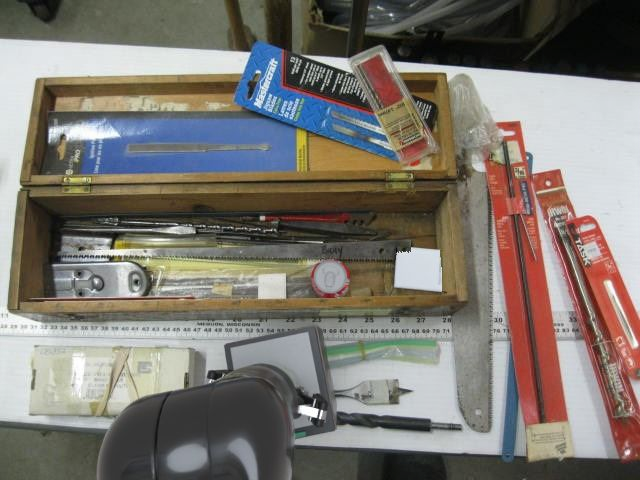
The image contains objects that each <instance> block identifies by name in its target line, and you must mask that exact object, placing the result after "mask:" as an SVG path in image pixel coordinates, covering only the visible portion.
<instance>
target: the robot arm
mask: <svg viewBox="0 0 640 480" xmlns="http://www.w3.org/2000/svg"><path fill="white" fill-rule="evenodd" d="M304 388H305V387H301V386H299V387H298V386H295V385H294V384H293V382H292V380H291V379H290V377H289V376H288V375H287V374H286V373H285V372H284V371H283V370H281V369H280V368H278V367H276V366H273V365H270V364H264V363H259V364H253V365H249V366H246V367H242V368H239V369H236V370H234V371H233V370H231V369H229V370H228V369H209V370H208V371H207V374H206V377H205V380H204V384H201V385H195V386H189V387H185V388H184V387H183V388H178V389H175V390H167V391H163V392H157V393H152V394H147V395H144V396H141V397H138V398H137V399H135V400H133V401H132V402H130V403H129V404H128V405H126V406H125V407H124V408H123V409H122V410H121V411H120V412H119V413H118V415H116V417H115V418H114V419H113V421H112V422H111V423H110V425H109V427H108V429H107V431H106V433H105V435H104V436H103V439H102V442H101V444H100V448H99V452H98V456H97V461H96V480H292V475H293V470H294V469H293V468H294V460H295V447H296V439H295V427H294V419H298V418H299V417H300V416H301V415H302V414H303V415H307V416H309V417H308V421H309V422H312V424H313V425H315V426H316V427H324V422H325V418H326V414H327V410H328V406H329V403H328V402H327V401H326V399H325V398H324V397H323V396H322V395H320V394H319V393H316V394H313V396H312V397H311V396H308V394H309V393H308V392H309V391H306V389H304Z"/></svg>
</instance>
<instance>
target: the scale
mask: <svg viewBox="0 0 640 480" xmlns="http://www.w3.org/2000/svg"><path fill="white" fill-rule="evenodd" d="M311 326H312V327H308V326H307V327H308V328H303V327H302V328H303V329H298V328H297V329H298V330H294V329H292V330H293V331H289V330H287V331H288V332H284V331H283V332H284V333H279V332H278V333H279V334H274V333H273V334H274V335H270V334H268V335H269V336H265V335H263V336H264V337H260V336H259V337H260V338H255V337H254V338H255V339H250V338H249V339H250V340H245V339H244V340H245V341H241V340H239V341H240V342H236V341H235V342H236V343H231V342H230V343H231V344H226V343H225V344H223V349H224V355H225V361H226V368H227V369H226V370H229V369H231V370H233V371H234V370H236V369H239V368H242V367H246V366H249V365H253V364H259V363H264V364H270V365H273V366H275V365H278V366H283V367H286V368H287V369H289V370H290V371H292V372H293V374H294V375H295V377H296V378H297V382H298V387H299V386H301V387H305V388H304V389H306V391H309V392H308V393H309V394H308V396H311V397H312V396H313V394H316V393H319V394H320V395H322V396H323V397H324V398H325V399H326V401H327V402H328V403H329V406H328V410H327V414H326V418H325V422H324V427H316V426H315V425H313V424H312V422H309V421H308V417H309V416H307V415H303V414H302V415H301V416H300V417H299V418H298V419H294V427H295V440H299V439H303V438H307V437H312V436H317V435H322V434H328V433H331V432H335V431H336V429H335V423H334V418H333V413H332V408H331V403H330V398H329V393H328V388H327V383H326V378H325V373H324V368H323V362H322V357H321V352H320V347H319V342H318V337H317V332H316V327H315V326H313V325H311Z"/></svg>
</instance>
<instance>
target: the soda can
mask: <svg viewBox="0 0 640 480" xmlns="http://www.w3.org/2000/svg"><path fill="white" fill-rule="evenodd" d="M310 284H311V287H312V290H313V291H314V293H315V294H316V296H317V297H318V298H319V297H320V298H319V299H321V298H337V297H343V298H344V297H345V296H346V294H347V293H348V290H349V288H350V284H351V274H350V271H349V269H348V267H347V265H345V264H344V263H343V262H342V261H340V260H338V259H335V258H326V259H323V260H321V261H319V262H318V263H317V264H315V266H314V267H313V269H312V271H311V274H310Z"/></svg>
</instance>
